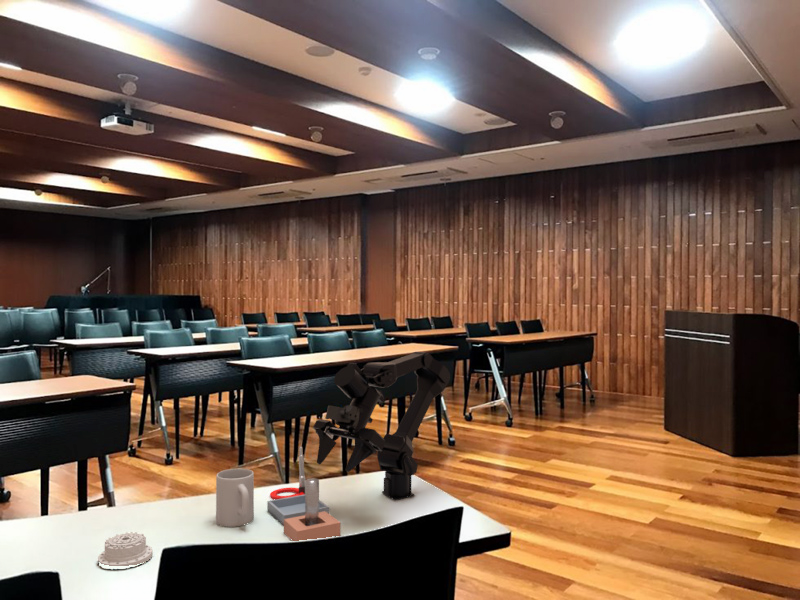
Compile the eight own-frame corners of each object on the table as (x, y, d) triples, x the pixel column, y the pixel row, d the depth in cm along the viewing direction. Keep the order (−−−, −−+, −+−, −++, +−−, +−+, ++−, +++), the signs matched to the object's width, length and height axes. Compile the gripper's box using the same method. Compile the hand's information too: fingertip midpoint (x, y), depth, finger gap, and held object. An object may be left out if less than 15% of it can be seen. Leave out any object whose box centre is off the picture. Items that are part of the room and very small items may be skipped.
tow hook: (266, 502, 161) (302, 501, 161) (264, 451, 161) (300, 450, 160) (274, 492, 169) (309, 491, 169) (272, 444, 169) (307, 443, 169)
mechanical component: (158, 549, 132) (109, 550, 131) (158, 528, 131) (109, 529, 131) (143, 571, 122) (89, 572, 121) (143, 548, 121) (89, 549, 121)
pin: (315, 530, 141) (315, 477, 141) (320, 535, 139) (321, 481, 139) (302, 533, 140) (303, 479, 140) (308, 538, 137) (308, 483, 137)
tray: (310, 503, 159) (310, 493, 159) (329, 517, 150) (329, 507, 150) (267, 511, 153) (267, 501, 153) (284, 526, 144) (284, 515, 144)
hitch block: (325, 524, 145) (325, 511, 145) (340, 536, 139) (340, 522, 138) (283, 532, 140) (283, 519, 140) (297, 545, 133) (297, 531, 133)
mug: (211, 518, 149) (211, 471, 148) (246, 511, 153) (246, 466, 153) (227, 535, 139) (227, 485, 138) (264, 527, 143) (265, 479, 143)
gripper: (315, 386, 155) (284, 444, 147) (373, 395, 143) (343, 458, 135) (340, 410, 161) (311, 466, 154) (397, 420, 150) (369, 481, 142)
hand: (332, 467), depth 146 cm, fingers open, 9 cm apart
